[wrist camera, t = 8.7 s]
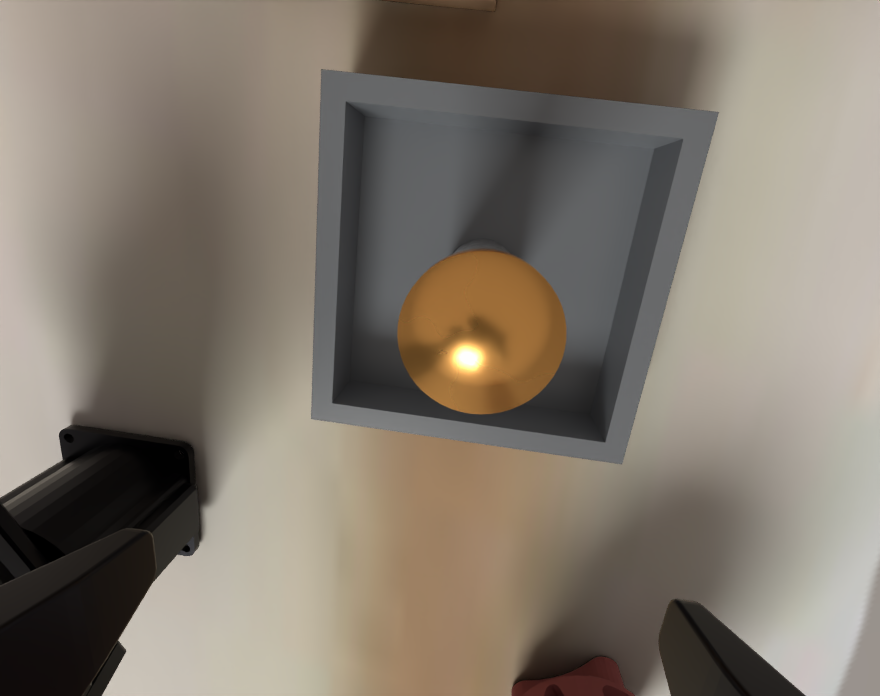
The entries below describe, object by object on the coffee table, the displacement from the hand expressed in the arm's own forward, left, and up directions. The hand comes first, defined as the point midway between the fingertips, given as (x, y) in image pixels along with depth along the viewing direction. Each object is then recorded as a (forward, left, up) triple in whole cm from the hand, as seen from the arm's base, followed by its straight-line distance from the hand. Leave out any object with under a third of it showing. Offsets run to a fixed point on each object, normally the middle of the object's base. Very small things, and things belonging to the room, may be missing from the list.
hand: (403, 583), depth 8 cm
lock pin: (+1, +4, -12) cm, 12 cm away
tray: (+1, +4, -12) cm, 13 cm away
